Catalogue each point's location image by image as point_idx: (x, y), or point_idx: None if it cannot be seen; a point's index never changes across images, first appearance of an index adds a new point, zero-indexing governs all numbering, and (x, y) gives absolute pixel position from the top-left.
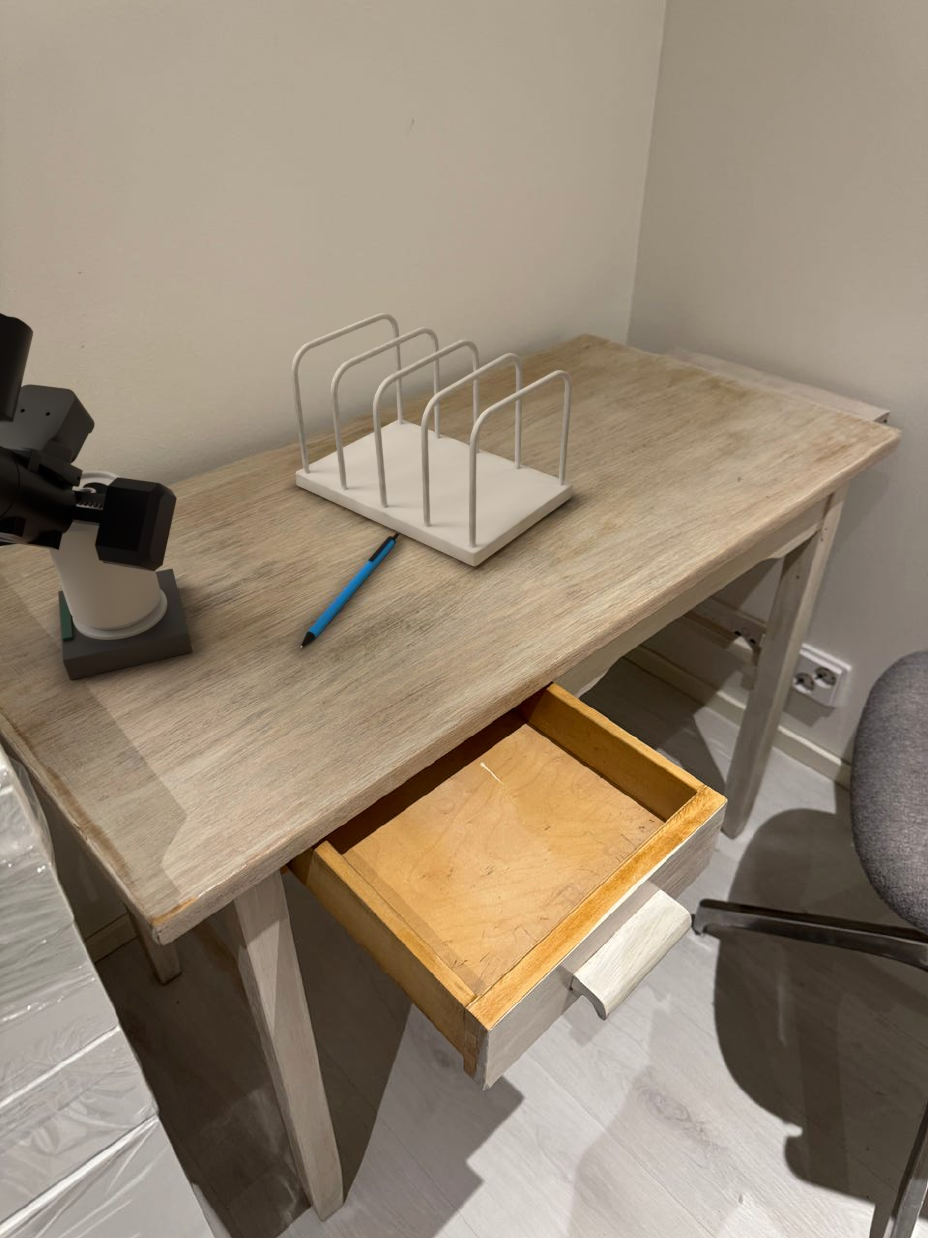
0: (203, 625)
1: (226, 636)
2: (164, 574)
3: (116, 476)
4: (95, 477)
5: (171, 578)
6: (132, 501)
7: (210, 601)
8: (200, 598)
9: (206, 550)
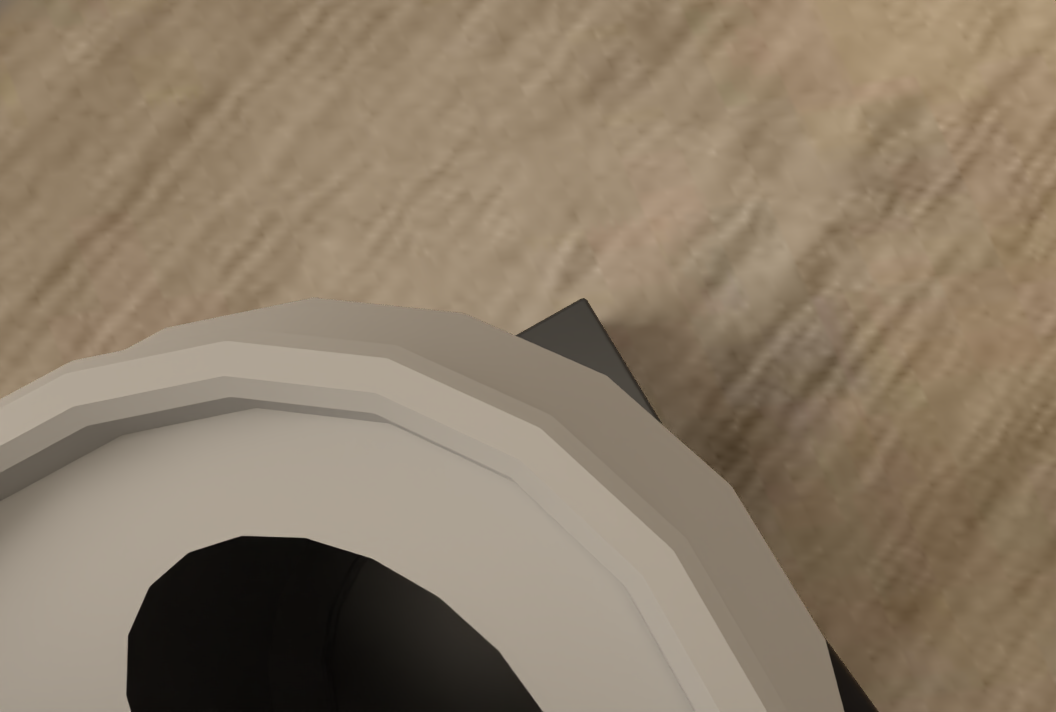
0: (795, 546)
1: (921, 603)
2: (570, 348)
3: (531, 471)
4: (201, 418)
5: (611, 369)
6: None
7: (757, 390)
8: (708, 377)
9: (603, 79)
